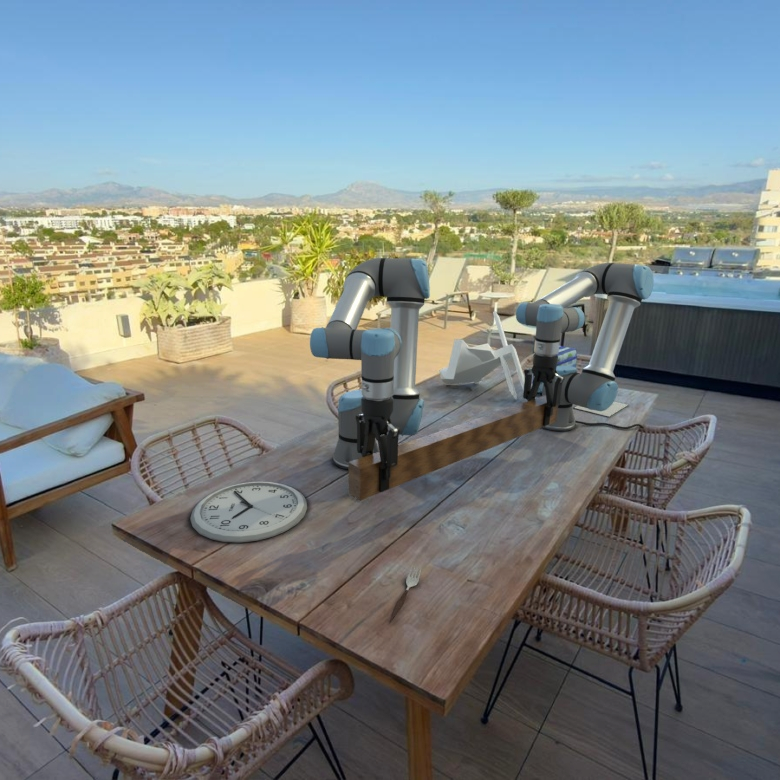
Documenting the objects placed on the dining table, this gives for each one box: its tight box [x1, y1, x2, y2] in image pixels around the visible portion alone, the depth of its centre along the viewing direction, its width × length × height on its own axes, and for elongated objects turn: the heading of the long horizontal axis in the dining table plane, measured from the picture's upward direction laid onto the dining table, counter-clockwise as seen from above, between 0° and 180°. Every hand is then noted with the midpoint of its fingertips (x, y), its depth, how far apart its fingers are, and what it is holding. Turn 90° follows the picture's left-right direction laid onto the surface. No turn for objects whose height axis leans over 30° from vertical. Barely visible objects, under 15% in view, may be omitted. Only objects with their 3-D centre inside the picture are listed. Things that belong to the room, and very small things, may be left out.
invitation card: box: [573, 401, 629, 418], centre depth 226 cm, size 21×1×15 cm
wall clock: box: [190, 481, 308, 544], centre depth 139 cm, size 30×2×30 cm
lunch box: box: [531, 345, 578, 394], centre depth 244 cm, size 26×11×21 cm, turn 135°
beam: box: [348, 395, 558, 501], centre depth 150 cm, size 83×5×8 cm, turn 131°
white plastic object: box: [438, 310, 525, 400], centre depth 245 cm, size 37×45×31 cm
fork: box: [391, 565, 422, 620], centre depth 108 cm, size 3×16×2 cm, turn 160°
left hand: (376, 485), depth 129 cm, fingers closed on beam, 5 cm apart
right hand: (538, 422), depth 172 cm, fingers closed on beam, 5 cm apart
